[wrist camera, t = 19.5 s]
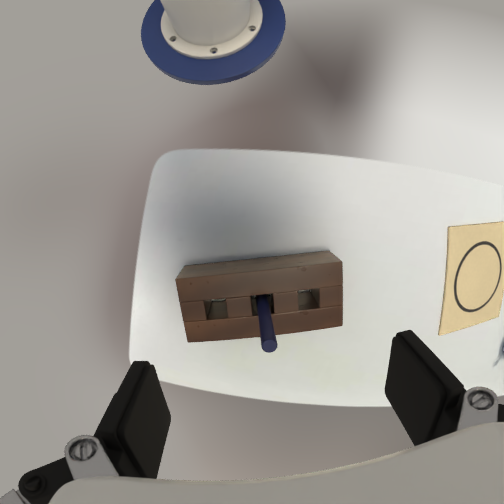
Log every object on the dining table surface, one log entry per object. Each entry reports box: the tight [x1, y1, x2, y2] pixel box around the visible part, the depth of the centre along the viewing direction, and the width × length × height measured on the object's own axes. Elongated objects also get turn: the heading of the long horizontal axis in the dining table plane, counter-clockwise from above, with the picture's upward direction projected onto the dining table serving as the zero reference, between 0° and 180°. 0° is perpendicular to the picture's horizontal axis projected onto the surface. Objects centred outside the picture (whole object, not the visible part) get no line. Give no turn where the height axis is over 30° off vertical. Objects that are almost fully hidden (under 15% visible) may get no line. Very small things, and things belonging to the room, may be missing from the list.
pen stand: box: [175, 251, 343, 342], centre depth 33 cm, size 7×17×5 cm, turn 96°
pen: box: [256, 294, 277, 352], centre depth 29 cm, size 1×1×13 cm
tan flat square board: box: [438, 222, 504, 336], centre depth 36 cm, size 16×14×1 cm
